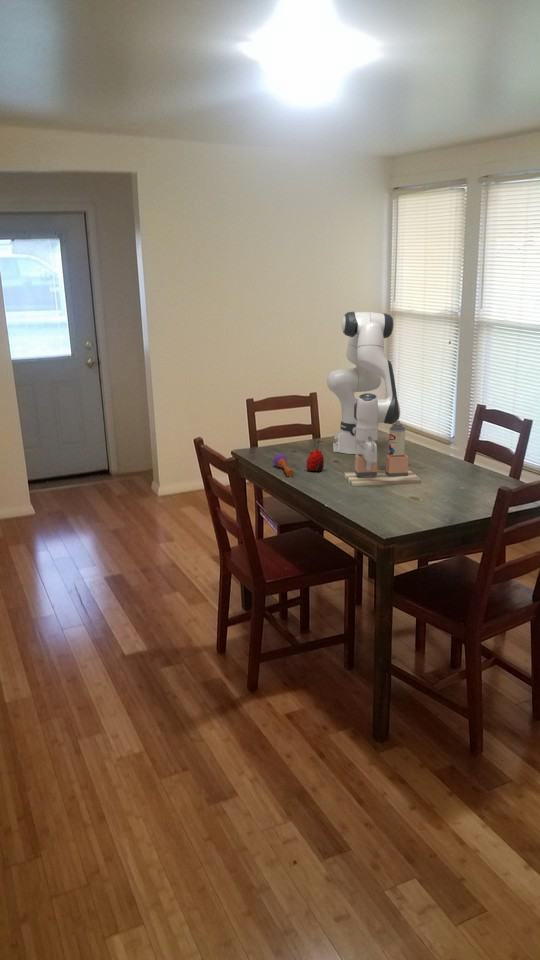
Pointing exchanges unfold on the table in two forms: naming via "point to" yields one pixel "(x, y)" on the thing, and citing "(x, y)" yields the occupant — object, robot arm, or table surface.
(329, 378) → the robot arm
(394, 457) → the seated sleeve
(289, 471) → the kendama
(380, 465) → the table surface
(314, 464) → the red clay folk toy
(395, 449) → the aerosol can
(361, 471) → the sleeve
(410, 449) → the table surface
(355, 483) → the wooden slatted tray
